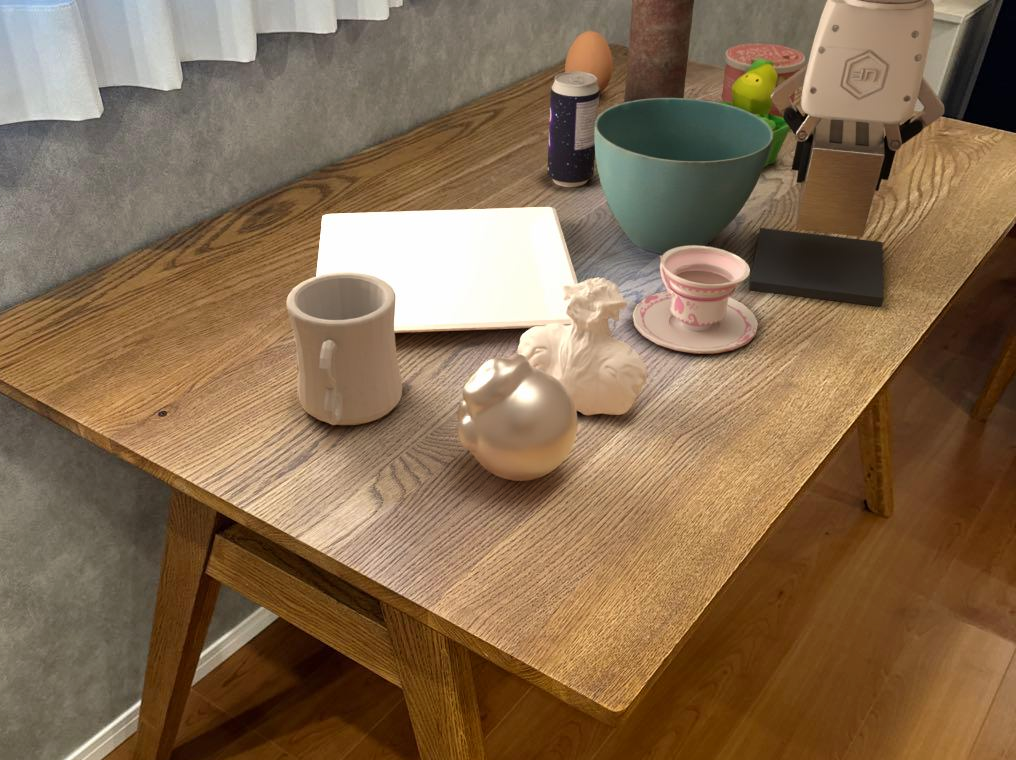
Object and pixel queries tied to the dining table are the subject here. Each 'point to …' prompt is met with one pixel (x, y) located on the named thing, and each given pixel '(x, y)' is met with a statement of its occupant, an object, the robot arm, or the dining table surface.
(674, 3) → the candle
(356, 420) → the mug
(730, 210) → the plant pot
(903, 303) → the dining table surface
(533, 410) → the cream glossy round piece
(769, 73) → the fruit basket
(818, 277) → the mat
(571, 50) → the egg
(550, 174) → the beverage can
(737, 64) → the container
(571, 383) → the bust
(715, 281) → the teacup
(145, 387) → the dining table surface
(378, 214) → the plate
